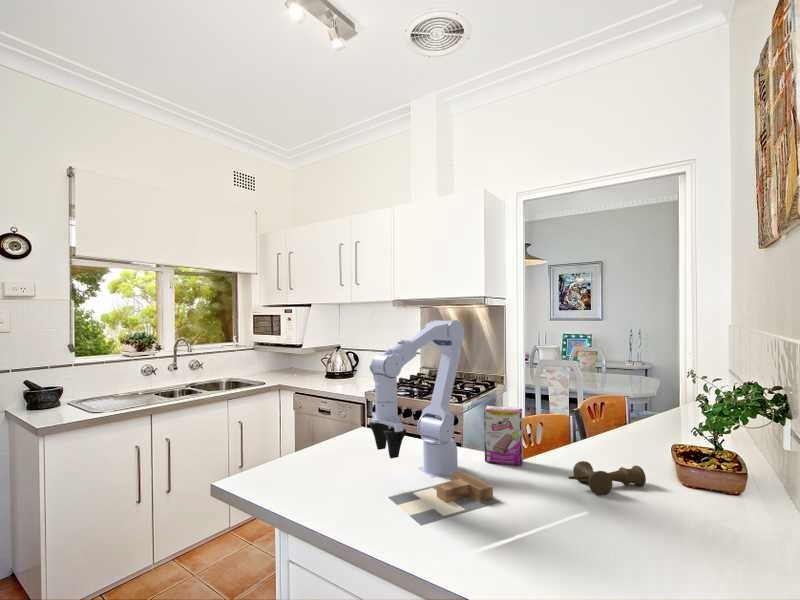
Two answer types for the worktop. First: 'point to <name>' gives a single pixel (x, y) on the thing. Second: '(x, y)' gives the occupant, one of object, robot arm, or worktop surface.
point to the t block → (464, 488)
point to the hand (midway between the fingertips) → (387, 453)
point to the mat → (434, 505)
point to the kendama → (607, 477)
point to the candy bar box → (503, 435)
